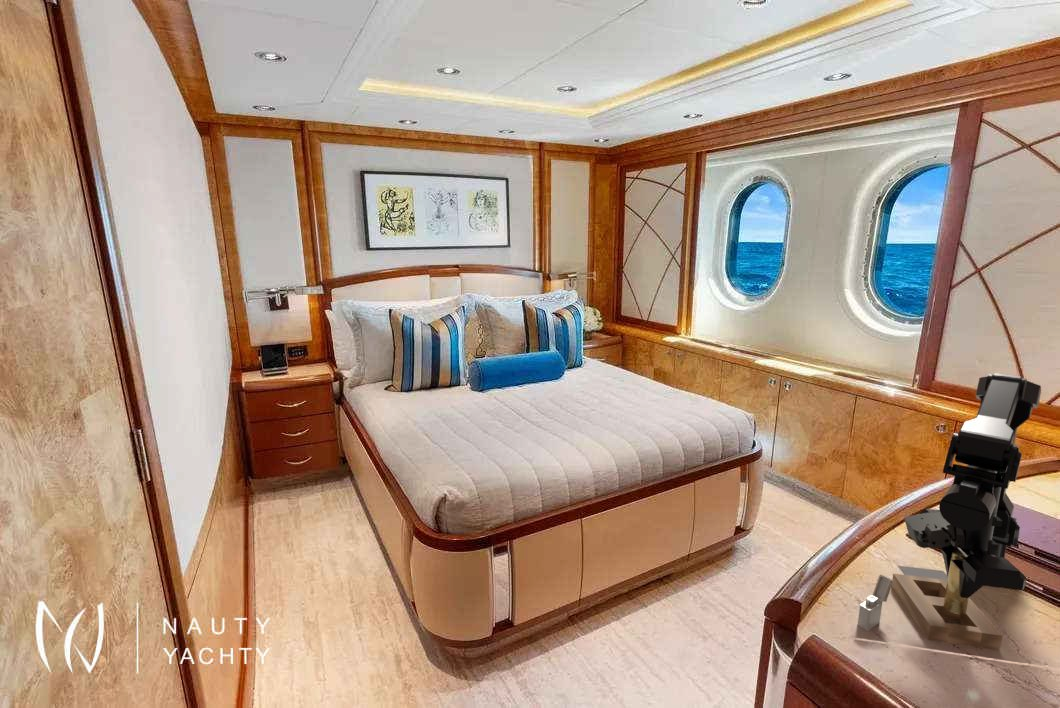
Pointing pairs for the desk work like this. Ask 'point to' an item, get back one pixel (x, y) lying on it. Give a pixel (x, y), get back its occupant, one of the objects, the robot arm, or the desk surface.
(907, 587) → the hole block
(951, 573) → the peg
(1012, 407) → the robot arm
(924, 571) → the mat
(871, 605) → the lighter
